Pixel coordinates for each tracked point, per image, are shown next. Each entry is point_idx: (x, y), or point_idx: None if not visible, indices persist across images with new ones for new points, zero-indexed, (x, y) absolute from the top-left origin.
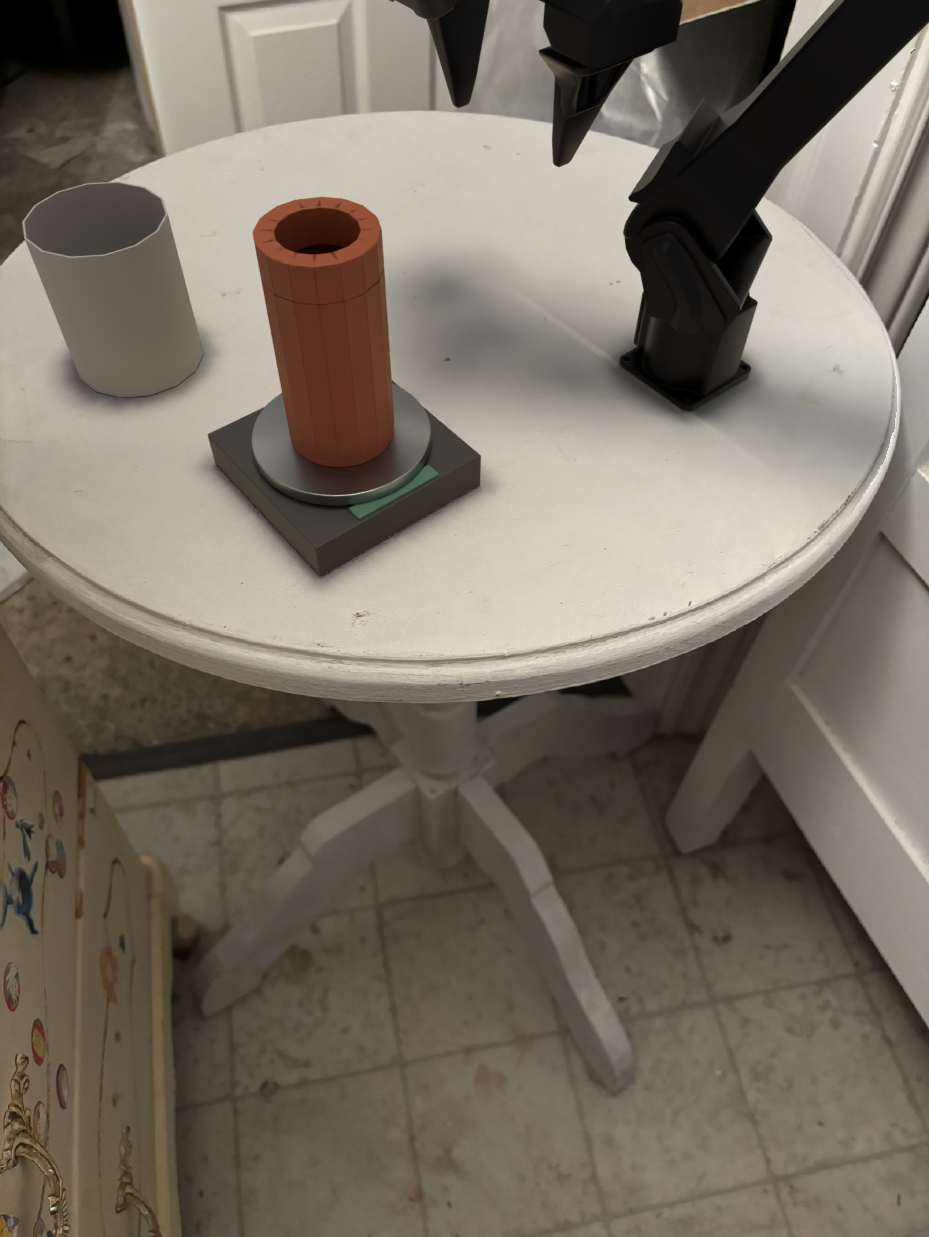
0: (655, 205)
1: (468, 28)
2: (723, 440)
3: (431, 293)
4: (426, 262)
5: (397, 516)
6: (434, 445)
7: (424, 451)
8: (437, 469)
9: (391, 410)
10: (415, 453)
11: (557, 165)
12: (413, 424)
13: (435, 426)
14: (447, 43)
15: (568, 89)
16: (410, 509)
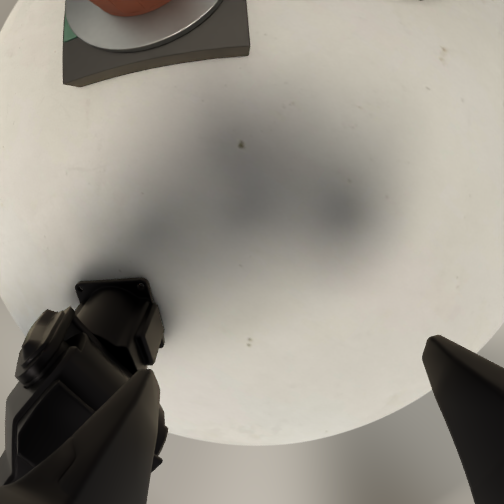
0: (37, 386)
1: (482, 444)
2: (50, 283)
3: (344, 197)
4: (385, 224)
5: None
6: (93, 50)
7: (74, 32)
8: (70, 43)
9: (91, 1)
10: (77, 24)
11: (139, 370)
12: (106, 32)
13: (112, 59)
14: (500, 400)
15: (36, 482)
16: None
